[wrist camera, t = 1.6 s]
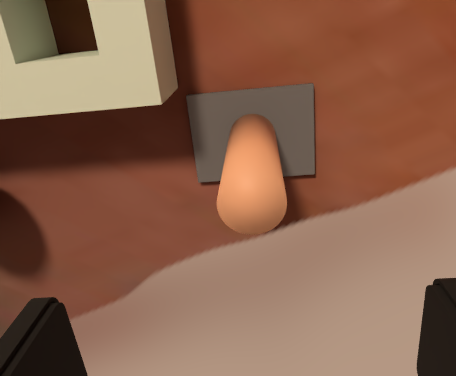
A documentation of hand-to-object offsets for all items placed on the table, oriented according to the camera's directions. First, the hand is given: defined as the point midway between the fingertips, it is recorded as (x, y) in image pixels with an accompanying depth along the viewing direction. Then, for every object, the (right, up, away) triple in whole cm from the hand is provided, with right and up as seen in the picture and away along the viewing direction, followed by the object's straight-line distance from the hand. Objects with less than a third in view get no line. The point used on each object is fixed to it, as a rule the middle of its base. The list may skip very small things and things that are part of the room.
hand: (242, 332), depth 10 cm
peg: (+1, +7, +16) cm, 17 cm away
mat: (+1, +7, +16) cm, 18 cm away
